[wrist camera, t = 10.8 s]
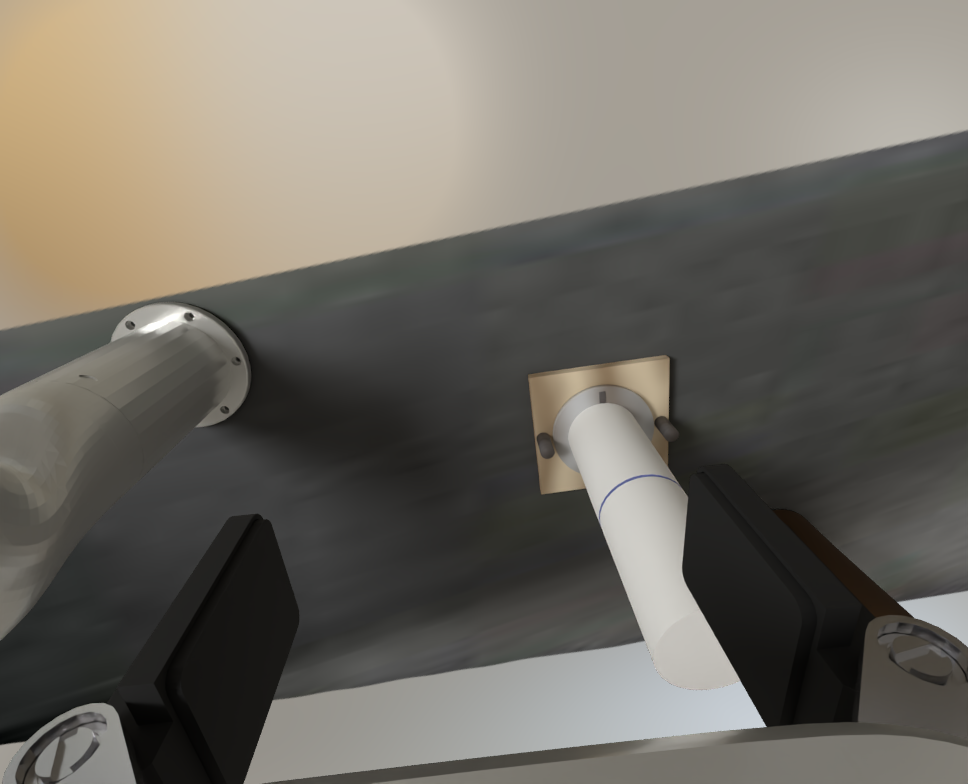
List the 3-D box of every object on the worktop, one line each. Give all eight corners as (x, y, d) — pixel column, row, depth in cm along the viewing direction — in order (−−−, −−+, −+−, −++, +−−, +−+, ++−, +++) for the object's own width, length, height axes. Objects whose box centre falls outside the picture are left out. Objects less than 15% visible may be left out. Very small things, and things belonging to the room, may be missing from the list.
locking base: (540, 489, 56) (545, 511, 53) (527, 374, 51) (533, 390, 47) (664, 472, 56) (678, 492, 52) (665, 355, 50) (681, 369, 47)
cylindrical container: (629, 393, 50) (771, 589, 27) (643, 451, 53) (782, 671, 30) (560, 416, 50) (642, 625, 28) (578, 471, 53) (665, 701, 31)
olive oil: (708, 556, 61) (856, 784, 38) (765, 491, 58) (966, 700, 35) (773, 585, 64) (949, 816, 41) (832, 524, 60) (1062, 740, 37)
